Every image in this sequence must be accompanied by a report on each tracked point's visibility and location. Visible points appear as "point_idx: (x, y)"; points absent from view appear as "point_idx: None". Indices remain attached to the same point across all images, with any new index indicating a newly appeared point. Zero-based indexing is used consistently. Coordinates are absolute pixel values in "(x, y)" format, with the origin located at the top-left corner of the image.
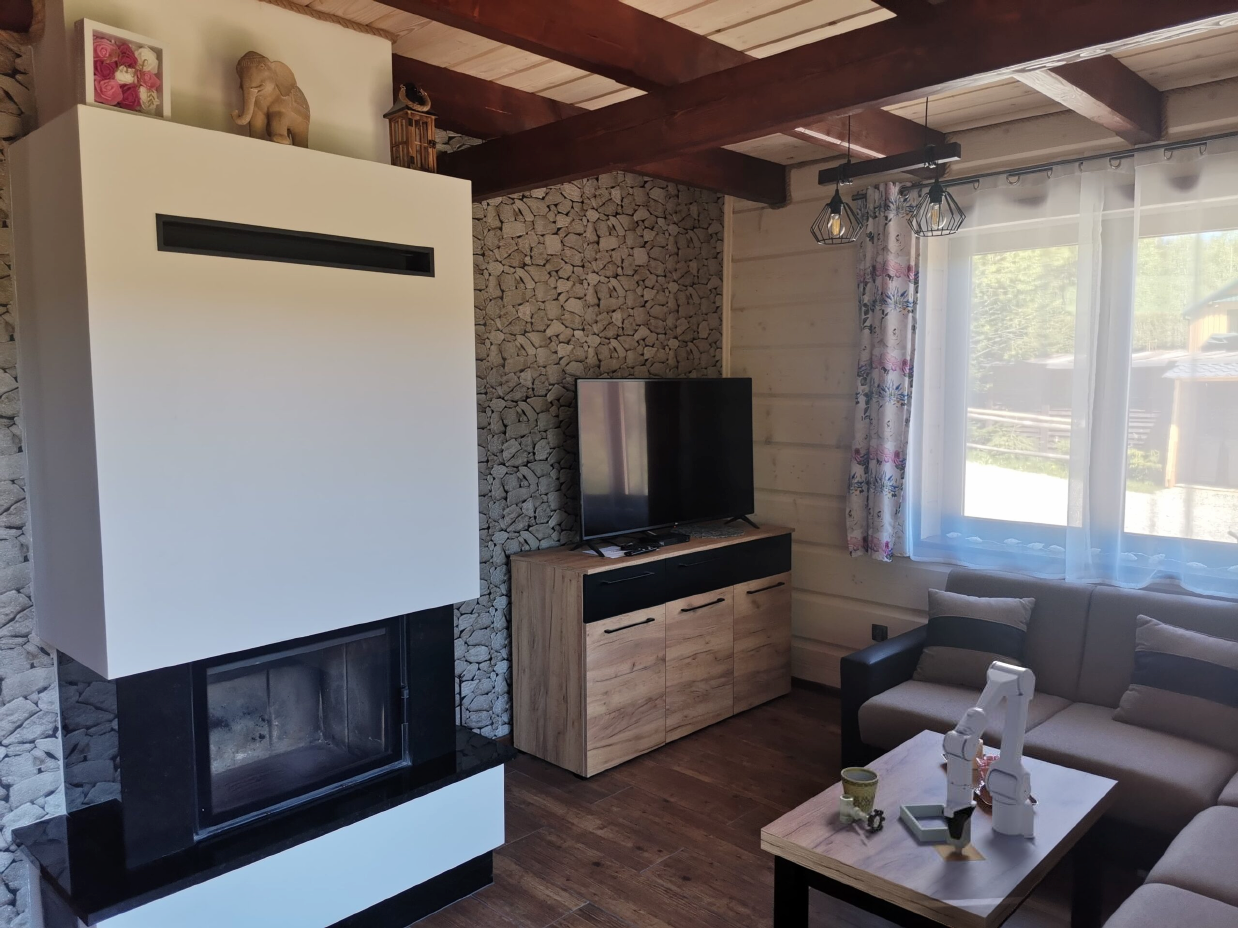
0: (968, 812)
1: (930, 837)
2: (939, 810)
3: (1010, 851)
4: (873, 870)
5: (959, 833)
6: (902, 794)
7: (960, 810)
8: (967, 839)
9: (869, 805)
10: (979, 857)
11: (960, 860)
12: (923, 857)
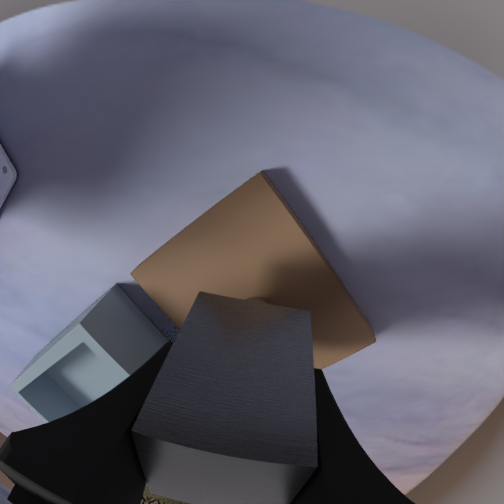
0: (119, 461)
1: None
2: (34, 385)
3: (75, 102)
4: (452, 444)
5: (336, 404)
6: (32, 422)
7: (133, 487)
8: (251, 322)
9: (160, 501)
10: (253, 210)
11: (340, 290)
12: (340, 396)
